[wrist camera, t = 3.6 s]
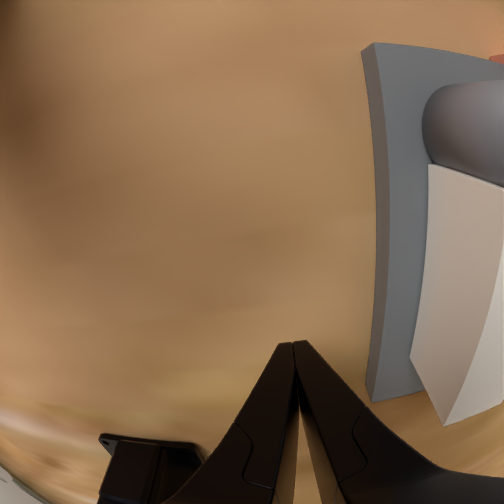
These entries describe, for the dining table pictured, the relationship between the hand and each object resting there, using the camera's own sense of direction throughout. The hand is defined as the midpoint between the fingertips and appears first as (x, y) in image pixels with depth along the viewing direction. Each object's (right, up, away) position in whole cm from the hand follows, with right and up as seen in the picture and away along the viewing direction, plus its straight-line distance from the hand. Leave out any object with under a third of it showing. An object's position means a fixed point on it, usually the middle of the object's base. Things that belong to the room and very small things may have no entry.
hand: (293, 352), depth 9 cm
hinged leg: (+5, +4, -1) cm, 6 cm away
